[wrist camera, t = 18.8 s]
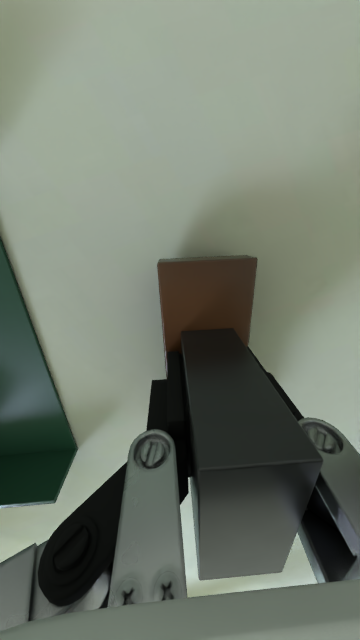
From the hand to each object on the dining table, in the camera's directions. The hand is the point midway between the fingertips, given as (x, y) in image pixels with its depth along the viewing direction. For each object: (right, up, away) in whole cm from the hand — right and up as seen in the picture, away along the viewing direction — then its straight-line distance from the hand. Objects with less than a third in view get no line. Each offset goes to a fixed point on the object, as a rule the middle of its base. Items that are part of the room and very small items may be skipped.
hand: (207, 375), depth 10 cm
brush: (0, +1, +2) cm, 2 cm away
